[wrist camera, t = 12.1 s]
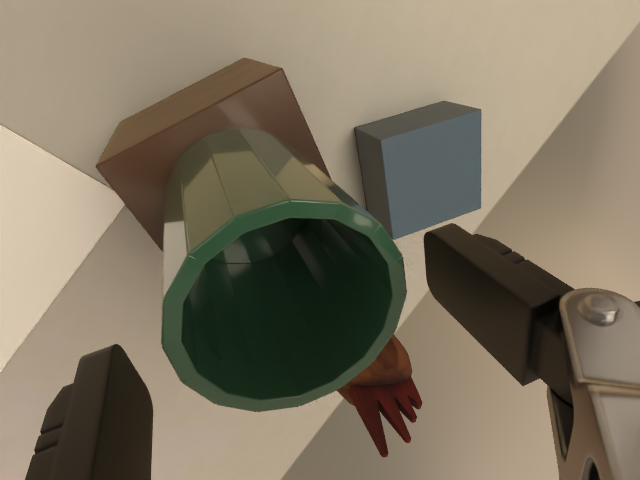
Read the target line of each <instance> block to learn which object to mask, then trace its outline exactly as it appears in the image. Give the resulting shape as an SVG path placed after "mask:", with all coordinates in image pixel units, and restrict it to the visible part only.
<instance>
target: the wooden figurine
mask: <svg viewBox="0 0 640 480" xmlns="http://www.w3.org/2000/svg"><path fill="white" fill-rule="evenodd" d="M411 374H412V368H411V363H410V359H409V356H408V353H407V351H406V350H405V348H404V347H403V345H402V344H401V343H400V341H399V340H398V339H397V338H396V337H395V335H394V334H393V335H392V337H391V338H390V339H389V341H388V342H387V344H386V345H385V346H384V348H383V349H382V351H381V352H380V353H379V355H378V356H377V357H376V359H375V360H374V362H373V363H371V365H370V366H368V367H367V368H366V369H365V370H363V371H362V372H361V373H359V374H358V375H357V376H356V377H354V378H353V379H352V380H351V381H349V382H348V383H347V384H345V385H344V386H343V387H342V388H340V389H338V390H337V391H338V392H339V393H340V394H341V395H342V396H343V397H344V398H345V399H346V400H347V401H348V402H349V403H350V404H352V405H354V406H355V407H356V409H357V411H358V413H359V415H360V416H361V418H362V420H363V422H364V424H365V426H366V428H367V430H368V431H369V434H370V436H371V437H372V439H373V441H374V443H375V445H376V447H377V449H378V451H379V453H380V455H381V456H382V457H387V455H388V449H387V444H386V440H385V435H384V431H383V426H382V422H381V417H380V412H381V413H382V415H383V416H384V417H385V418H386V419H387V421H388V422H389V423H390V424H391V425H392V427H393V428H394V429H395V430H396V431H397V433H398V434H399V435H400V436H401V437H402V439H403V440H404V441H405V442H406V443H409V442H410V441H411V437H410V434H409V432H408V430H407V427H406V425H405V423H404V420H403V418H402V416H401V413H400V411H401V412H402V413H403V414H404V415H405V416H406V417H407V418H408V419H409V420H410V421H411V422H412V423H414V422H416V419H417V416H416V414H415V412H414V409H413V408H412V406H414V407H415V408H416V409H420V408H421V405H422V401H421V398H420V395H419V393H418V391H417V389H416V386H415V384H414V382H413V380H412V378H411ZM399 410H400V411H399ZM379 411H380V412H379Z"/></svg>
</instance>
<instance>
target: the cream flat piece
mask: <svg viewBox="0 0 640 480" xmlns="http://www.w3.org/2000/svg"><path fill="white" fill-rule="evenodd" d="M124 205H125V204H124V202H123V201H122V200H121V199H120V197H119V196H118V195H117V194H116V192H115V191H114V190H112V189H110V188H108V187H107V186H105V185H103V184H102V183H100V182H98V181H96V180H95V179H93V178H91V177H89V176H88V175H86V174H84V173H83V172H81V171H79V170H77V169H76V168H74V167H72V166H71V165H69V164H67V163H65V162H64V161H62V160H60V159H59V158H57V157H55V156H53V155H52V154H50V153H48V152H47V151H45V150H43V149H41V148H40V147H38V146H36V145H34V144H33V143H31V142H29V141H28V140H26V139H24V138H22V137H21V136H19V135H17V134H16V133H14V132H12V131H10V130H9V129H7V128H5V127H4V126H2V125H0V372H1V371H2V369H3V368H4V367H5V365H6V364H7V363H8V361H9V360H10V359H11V357H12V356H13V355H14V353H15V352H16V351H17V349H18V348H19V347H20V345H21V344H22V343H23V341H24V340H25V339H26V337H27V336H28V334H29V333H30V332H31V330H32V329H33V328H34V326H35V325H36V324H37V322H38V321H39V320H40V318H41V317H42V316H43V314H44V313H45V312H46V310H47V309H48V308H49V306H50V305H51V304H52V302H53V301H54V300H55V298H56V297H57V295H58V294H59V293H60V291H61V290H62V289H63V287H64V286H65V285H66V283H67V282H68V281H69V279H70V278H71V277H72V275H73V274H74V273H75V271H76V270H77V269H78V267H79V266H80V265H81V263H82V262H83V261H84V259H85V258H86V256H87V255H88V254H89V252H90V251H91V250H92V248H93V247H94V246H95V244H96V243H97V242H98V240H99V239H100V238H101V236H102V235H103V234H104V232H105V231H106V230H107V228H108V227H109V226H110V224H111V223H112V222H113V220H114V219H115V218H116V216H117V215H118V213H119V212H120V211H121V209H122V208H123V207H124Z"/></svg>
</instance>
